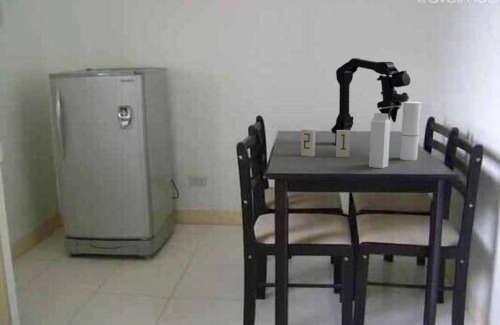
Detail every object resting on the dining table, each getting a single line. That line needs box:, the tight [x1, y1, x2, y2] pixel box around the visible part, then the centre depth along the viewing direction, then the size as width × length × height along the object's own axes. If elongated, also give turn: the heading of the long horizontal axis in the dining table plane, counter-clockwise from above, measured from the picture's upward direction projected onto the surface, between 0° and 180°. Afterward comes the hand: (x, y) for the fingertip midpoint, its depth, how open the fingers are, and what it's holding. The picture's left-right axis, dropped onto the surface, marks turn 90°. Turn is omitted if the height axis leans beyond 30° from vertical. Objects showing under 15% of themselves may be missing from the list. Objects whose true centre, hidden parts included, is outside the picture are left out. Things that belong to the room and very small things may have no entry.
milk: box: [368, 112, 392, 169], centre depth 192 cm, size 6×6×22 cm
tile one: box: [335, 130, 351, 158], centre depth 213 cm, size 3×6×12 cm, turn 81°
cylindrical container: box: [399, 101, 422, 161], centre depth 206 cm, size 7×7×25 cm
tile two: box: [300, 128, 316, 158], centre depth 216 cm, size 3×6×12 cm, turn 54°
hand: (391, 122), depth 217 cm, fingers open, 9 cm apart
